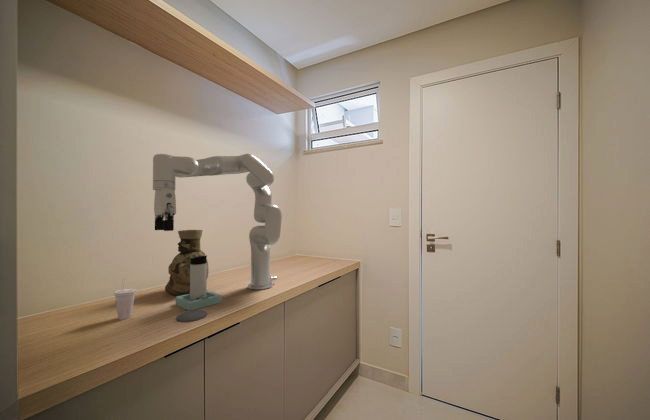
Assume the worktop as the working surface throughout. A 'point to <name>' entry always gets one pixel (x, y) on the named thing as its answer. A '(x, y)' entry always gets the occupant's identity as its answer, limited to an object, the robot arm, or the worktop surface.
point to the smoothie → (124, 302)
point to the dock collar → (198, 301)
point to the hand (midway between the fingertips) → (163, 230)
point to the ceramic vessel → (184, 262)
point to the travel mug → (198, 277)
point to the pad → (191, 315)
